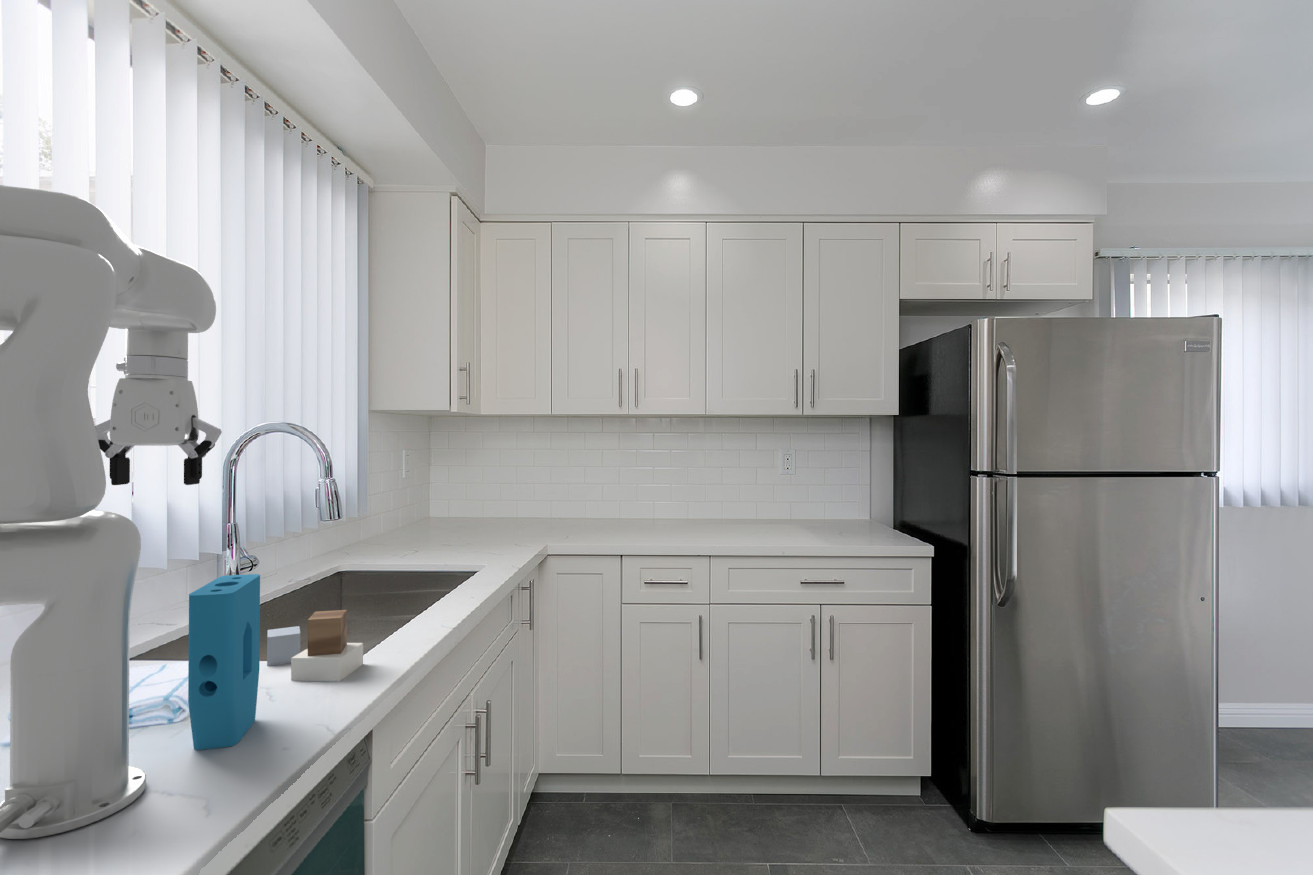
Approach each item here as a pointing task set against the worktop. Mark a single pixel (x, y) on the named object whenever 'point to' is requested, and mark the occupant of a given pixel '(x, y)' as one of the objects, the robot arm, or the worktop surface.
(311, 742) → the worktop surface
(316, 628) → the walnut block
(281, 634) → the slate cube
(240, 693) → the block
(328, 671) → the limestone block
